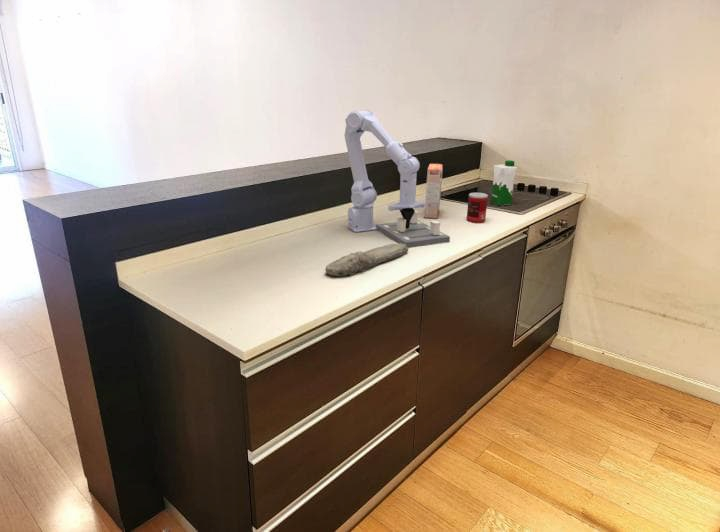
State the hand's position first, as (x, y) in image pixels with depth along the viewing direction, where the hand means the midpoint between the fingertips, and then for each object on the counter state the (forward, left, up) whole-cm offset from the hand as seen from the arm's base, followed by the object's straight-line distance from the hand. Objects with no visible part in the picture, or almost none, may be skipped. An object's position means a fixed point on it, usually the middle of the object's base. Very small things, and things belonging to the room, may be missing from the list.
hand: (406, 227), depth 184 cm
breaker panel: (+2, 0, -3) cm, 4 cm away
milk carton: (+65, +27, -3) cm, 71 cm away
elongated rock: (-24, -20, -4) cm, 32 cm away
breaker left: (+7, +8, -1) cm, 11 cm away
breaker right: (+7, -8, -1) cm, 11 cm away
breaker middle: (-2, 0, -1) cm, 2 cm away
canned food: (+37, +8, -3) cm, 38 cm away
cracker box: (+25, +23, -3) cm, 34 cm away
